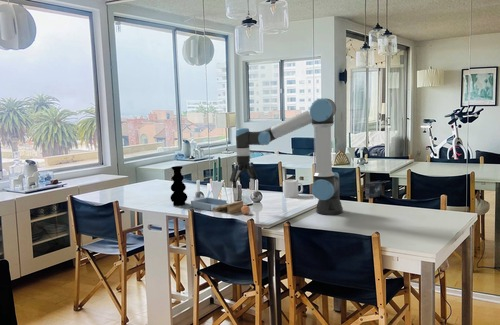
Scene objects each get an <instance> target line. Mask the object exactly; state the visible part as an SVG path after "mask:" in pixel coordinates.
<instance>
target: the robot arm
mask: <svg viewBox="0 0 500 325" xmlns="http://www.w3.org/2000/svg"><path fill="white" fill-rule="evenodd" d="M336 112H337V105H336V102H334V101H333V100H332V99H330V98H323V97H322V98H317V99H315V100H313V102H312V103H311V104H310V107H309V109H307V110H305V111H303V112H300V113H299V114H297V115H295V116H293V117H291V118H288V119H286V120H284V121H281V122H279V123H277V124H275V125H273V126H270V127H269V128H266V129H264V130H260V131H250V129H249V128H248V127H241V128H239V127H238V128H237V129H235V141H236V142H235V144H236V147H235V148H236V162H237V164H233V169H232V173H231V175H230V177H229V182H231V183H232V188H233V194H236V195H237V194H239V185H238V184H239V183H238V181H239V178H240V177H241V176H240V175H242V173H243V172H246V173H247V174H248V176H249V177H250V178H249V186H250V187H249V188H250V190H251V191H256V190H255V184H256V179H257V177H258V174H257V171H256V169H255V166H254V162H251V156H250V154H251V152H250V150H251V148H250V146H268V145H269V144H270V143H271V142H273V141H274V140H275V141H276V140H277V139H279V138H281V137H284V136H286V135H288V134H291V133H293V132H294V131H297V130H300V129H302V128H304V127H306V126H308V125H312V127H314V145H315V146H314V150H315V152H314V153H315V154H314V156H315V172H314V173H313V174H312V186H311V193H312V195H313V197H314V198H315V199H317V204H316V208H315V212H316V213H317V214H319V215H326V216H331V215H332V216H333V215H340V214H342V213H344V210H343V206H342V202H341V198H340V174H339V173H338V172H333V169H332V168H333V166H332V164H333V163H332V160H333V159H332V158H333V157H332V126H333V125H334V124H335V123H334V122H335V120H334V117H335V115H336Z"/></svg>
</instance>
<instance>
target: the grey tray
mask: <svg viewBox="0 0 500 325" xmlns="http://www.w3.org/2000/svg"><path fill="white" fill-rule="evenodd" d="M225 204H228V200H226V199H221V198H216V197H215V198H214V197H209V196H208V197H203V198H198V199H194V200H190V208H192V207H193V209H198V210H203V211H208V212H211V211H214V209H213V207H217V206H221V205H225Z"/></svg>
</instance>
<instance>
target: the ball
mask: <svg viewBox="0 0 500 325" xmlns="http://www.w3.org/2000/svg"><path fill="white" fill-rule="evenodd" d="M240 212H242V214H243V215H247V214H249V213H250V212H251V211H250V207H249V206H248V205H243V207H242V209H241V211H240Z"/></svg>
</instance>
